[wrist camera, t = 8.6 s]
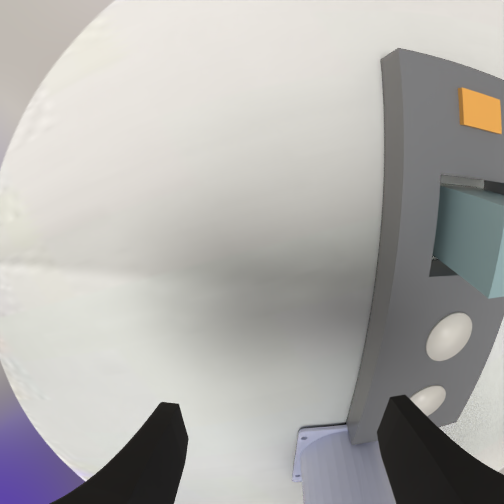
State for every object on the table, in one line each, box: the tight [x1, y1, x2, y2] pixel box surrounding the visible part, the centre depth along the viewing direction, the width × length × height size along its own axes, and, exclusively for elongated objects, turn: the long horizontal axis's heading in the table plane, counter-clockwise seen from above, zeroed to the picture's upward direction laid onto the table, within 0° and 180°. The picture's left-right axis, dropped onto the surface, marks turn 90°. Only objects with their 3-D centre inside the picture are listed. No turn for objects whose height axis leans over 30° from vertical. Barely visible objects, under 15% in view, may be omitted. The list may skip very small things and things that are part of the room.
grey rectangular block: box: [433, 183, 504, 299], centre depth 13 cm, size 4×4×7 cm
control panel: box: [346, 48, 504, 445], centre depth 16 cm, size 26×10×3 cm, turn 2°
